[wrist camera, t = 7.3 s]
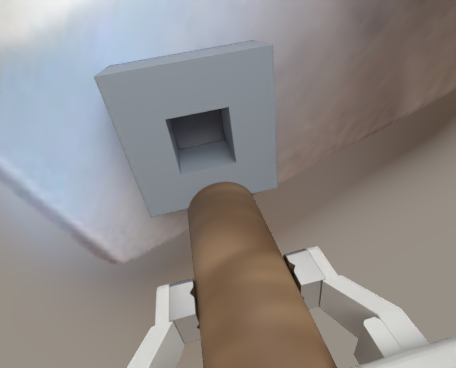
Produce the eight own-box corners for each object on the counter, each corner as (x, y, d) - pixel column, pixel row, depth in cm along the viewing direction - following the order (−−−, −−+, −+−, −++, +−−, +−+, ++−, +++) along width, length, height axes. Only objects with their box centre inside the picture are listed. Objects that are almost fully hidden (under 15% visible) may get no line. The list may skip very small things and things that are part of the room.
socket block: (252, 40, 25) (272, 44, 20) (261, 162, 33) (277, 187, 28) (109, 65, 24) (93, 76, 19) (153, 186, 32) (150, 216, 27)
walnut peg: (251, 174, 14) (373, 393, 6) (257, 227, 16) (350, 440, 8) (180, 191, 14) (199, 450, 5) (195, 242, 16) (225, 482, 8)
